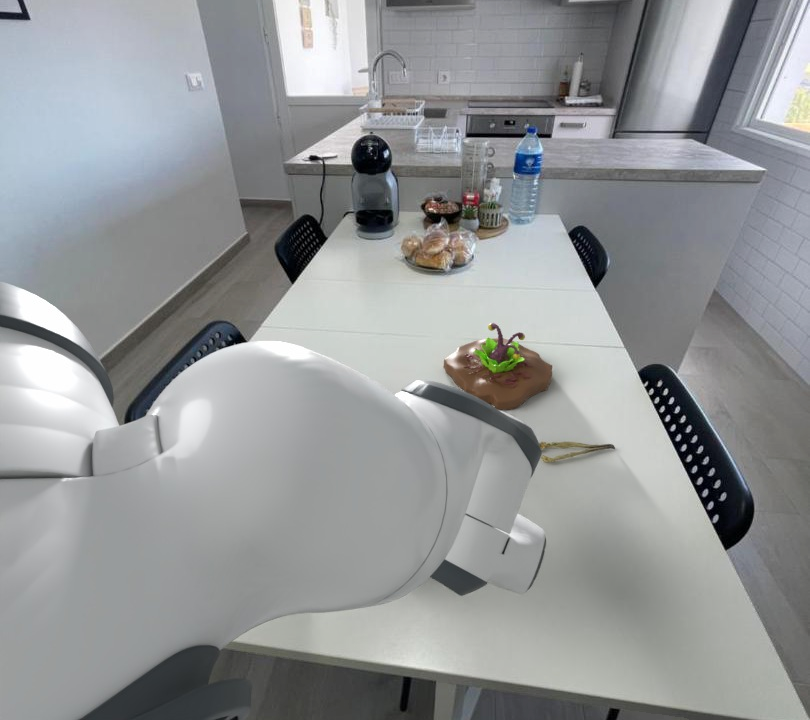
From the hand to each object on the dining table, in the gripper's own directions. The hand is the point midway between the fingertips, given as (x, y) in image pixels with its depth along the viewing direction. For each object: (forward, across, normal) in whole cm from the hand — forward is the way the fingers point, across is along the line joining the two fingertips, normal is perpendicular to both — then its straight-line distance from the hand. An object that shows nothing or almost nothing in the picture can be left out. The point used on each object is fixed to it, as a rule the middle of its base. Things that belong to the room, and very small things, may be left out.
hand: (328, 462), depth 63 cm
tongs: (-29, -28, +8) cm, 41 cm away
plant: (-10, -41, +8) cm, 43 cm away
